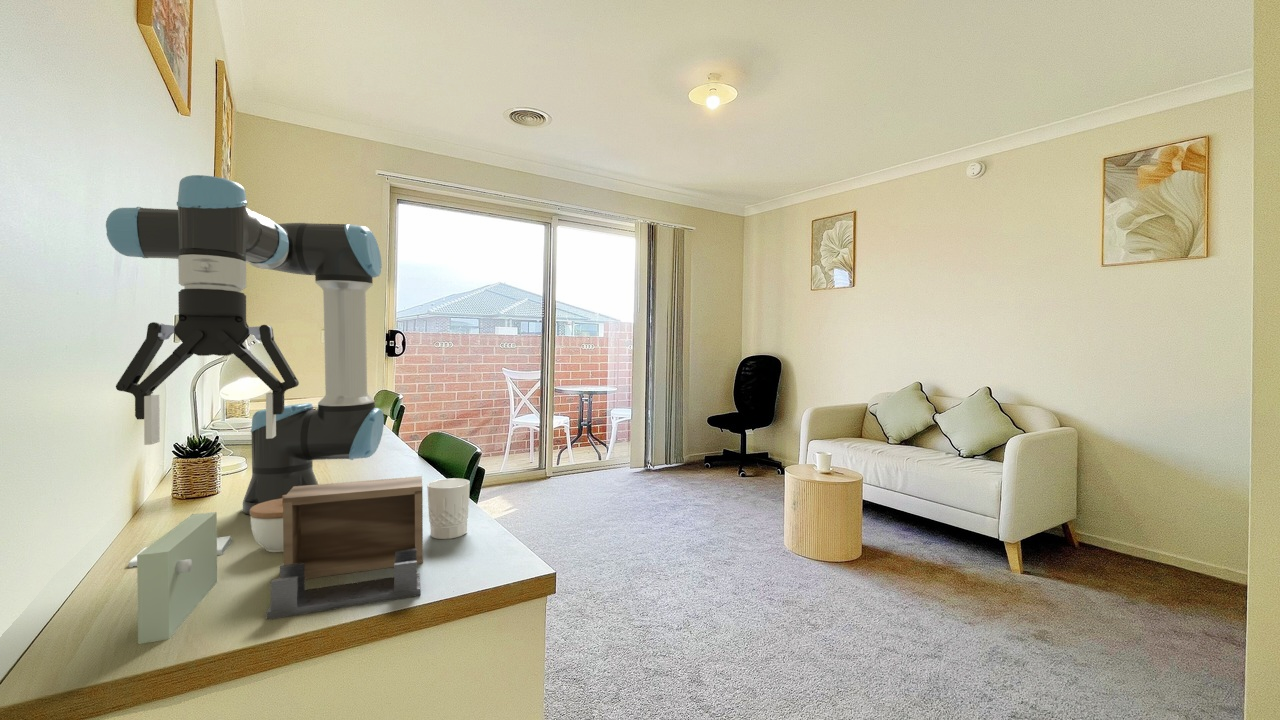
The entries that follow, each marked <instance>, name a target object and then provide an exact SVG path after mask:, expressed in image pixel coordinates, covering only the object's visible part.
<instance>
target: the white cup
mask: <svg viewBox="0 0 1280 720" xmlns="http://www.w3.org/2000/svg"><path fill="white" fill-rule="evenodd" d="M470 484H471V481H470V480H469V479H465V478H459V477H458V478H456V477H453V478H442V479H436V480H433V481H430V482H428V483H427V484H426V487H427V505H428V506H427V507H428V521H429V525H430V527H429V528H430V537H431V538H433V539H439V540H450V539H454V538H459V537H461V536H464V535H465V534H466V533H467V532H468V518H469V506H470V487H471V486H470Z"/></svg>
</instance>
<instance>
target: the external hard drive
mask: <svg viewBox="0 0 1280 720" xmlns="http://www.w3.org/2000/svg"><path fill="white" fill-rule="evenodd" d="M232 539H233V538H232V535H228V536H227V535H226V536H220V537H218V536H217V556H223V554H224V552H225V551H226V549H228V547H229V546H230V544H231V542H232ZM148 547H149V546H145V547H143V548H142V549H141V550H140V551H139V552H138V553H137V554H136V555H134V556H133V557H132V558H131V559H130V560H129V562H128V568H134V567H133V566H137V555H138V554H139V553H141V552H142V551H143V550H145V549H146V548H148Z"/></svg>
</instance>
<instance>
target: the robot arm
mask: <svg viewBox="0 0 1280 720" xmlns="http://www.w3.org/2000/svg"><path fill="white" fill-rule="evenodd" d="M178 184H179V185H178V194H177V201H176V206H177V209H174V208H172V209H171V208H152V207H150V208H148V207H141V206H136V207H119V208H116V209H114V210H111V212H110V213H109V214H108V216H107V218H106V222H105V229H106V237H107V241H108V242H109V244H110V245H111V247H112V248H113V249H114V250H115V251H116V252H117V253H119V254H121V255H122V256H124V257H125V256H126V257H133V258H142V259H172V260H173V259H174V260H175V259H176V260H177V261H178V263H177V264H178V266H177V267H178V284H179V285H180V286H182V287H183V289H182V288H181V289H180V291H178V320H177V323H176V325H170V324H164V323H161V322H155V321H153V322H150V323H148V324H147V328H146V330H147V331H146V337H145V340H143V343H142V344H141V345H140V347H139V349H138V350H137V352H136V353H135V355H134V356H133V358H132V360H131V361H130V362H129V365H127V367H126V369H125V371H124V373H122V375H121V376H120V378H119V380H118V381H117V383H116V384H115V389H116V390H117V391H119V392H123V393H124V392H125V393H129V394H132V395H133V396H134V416H135V418H136V420H144V422H143V426H144V428H143V430H144V431H143V432H144V434H143V435H144V437H143V438H144V441H143V442H144V444H143V445H144V446H150V445H154V444H157V443H159V442H160V439H161V438H160V436H161V435H160V394H153V393H154V391H155V390H156V389H157V388H158V387H160V385H161V384H163V382H164V381H166V379H168V378H169V377H170V375H172V374H173V373H174V372H175V371H176V370H177V369H178V368H179V367H181V365H183V364H184V363H185V362H186V361H187V360H188V359H189V358H191V357H192V356H193V355H196V356H198V357H200V356H203V357H207V356H214V355H215V356H221V357H225V356H227V357H229V356H231V355H234V356H235V357H236V358H238V359H239V360H240V361H241V362H242V363H243V364H245V366H246V367H247V368H249V369H250V371H252V373H254V374H255V375H256V377H258V378H259V380H261V382H263V383H264V384H265V385H266V386H267V387H268V388H269V389H270V390H271V391H272V392H267V393H265V409H260V410H258V411H257V410H256V412H255V413H253V415H252V420H251V429H250V433H251V434H250V435H251V470H252V471H251V479H250V481H249V484H248V487H247V489H246V492H245V495H244V496H243V501H242V512H243V514H246V515H249V516H250V509H251V507H253V506H255V505H257V504H259V503H262V502H266V501H270V500H275V499H281V498H282V496H283V495H286V494H287V493H288V492H289V491H290V490H291V489H292V488H293V487H294V486H306V485H319V483H318V480H317V478H316V476H315V472H314V469H313V466H314V465H313V464H314V463H313V461H319V460H321V461H322V460H351V461H353V460H356V459H367V458H370V457H372V456H373V455H374V454H376V452H377V450H378V449H379V445H380V443H381V442H382V441H381V440H382V436H383V432H384V426H385V425H384V424H385V416H384V412H383V410H382V409H381V408H379V407H376V405H375V404H376V403H375V399H374V398H373V397H372V396H370V394H368V371H367V370H368V366H367V365H368V363H367V362H368V361H367V360H368V357H367V355H368V354H367V310H366V309H367V305H366V304H367V303H366V300H367V299H366V297H367V295H366V293H367V291H368V290H369V289H370V288H372V286H373V282H374V281H373V280H374V279H373V278H378V277H379V276H380V275H381V273H382V256H381V255H382V254H381V251H380V247H379V244H378V240H377V238H376V237H375V235H374V233H373V232H372V230H370V229H369V228H368V227H367V226H365V225H364V226H363V225H356V224H349V223H313V222H311V223H308V222H288V223H277V222H275V221H274V220H272V219H270V218H269V217H266V216H264V215H262V214H259V213H257V212H256V211H252V210H251V209H249V208H248V207H247V206H248V201H247V196H246V190H245V188H244V186H242V185H241V184H240V183H239V182H236V181H233V180H230V179H227V178H222V177H219V176H213V175H212V176H211V175H202V174H201V175H200V174H197V175H196V174H194V175H186V176H184V177H183V178H182V179H180V180H179V183H178ZM247 264H249V265H250V266H252V267H255V268H257V269H261V270H271V271H276V272H283V273H287V274H293V275H294V274H295V275H301V276H302V275H303V276H314V278H315V281H314V282H315V284H316V285H317V286H319V288H321V290H322V291H323V292H322V293H323V295H322V296H323V329H324V330H323V335H324V338H323V339H324V343H323V344H324V380H325V381H324V385H325V387H324V388H325V391H324V392H325V394H324V397H323V398H321V399H320V400H319V401H318V403H317V409H314V406H313V404H312V403H310V402H307V403H297V404H290V405H285V394H286V392H287V391H288V390H291V389H293V388H296V387H298V386H299V385H300V382H299V380H298V378H297V377H296V374H295V373H294V371H293V369H292V368H291V367H290V364H289V363H288V362H287V360H286V358H285V356H284V355H283V353H282V352H281V351H282V350H280V348H279V346H278V344H277V343H276V341H275V337H274V329H273V327H272V326H271V325H267V324H261V325H260V326H259V325H258V326H249V325H248V322H247V295H246V294H245V293H244V292H242V290H243V291H244V290H245V289H246V288H247ZM173 334H175V336H176V337H177V338H178V339H179V340H180V341H181V342H182V343H180V344H179V346H177V347H176V348H175V349H174V350H173V351H172V353H171V354H170V355H169V356H168V357H167V358H166V359H165V360H163V362H161V363H160V364H159V365H158V366H157V367H156V368H155V369H154V370H153V371H152V372H151V373H149V374H148V376H146V378H144V379H143V380H142V381H141V382H140V380H141V379H142V377H143V376H144V374H145V372H146V371H147V369H148V368H149V366H150V365H151V363H152V361H153V360H154V358H155V357H156V355H157V354H158V352H159V351H160V349H161V348H162V346H163V343H164V341H165V340H169V339H170V337H171V336H172V335H173ZM251 335H253V336H254V338H255V340H257V341H261V344H262V346H263V347H264V349H265V351H266V353H267V355H268V356H269V358H270V360H271V361H272V363H273V364H274V366H275V367H276V370H277V372H278V374H280V376H281V378H282V379H283V382H281V381H280V380H279V378H277V377H276V376H275V375H274V374H273V373H272V372H271V371H270V370H269V369H268V368H267V367H266V366H265V365H264V364H263V363H262V362H261V361H260V360H259V359H258V358H257V357H256V356H255V355H254V354H253V353H252V351H250V349H249V348H247V346H245V345H244V342H245V341H246V340H247V339H248V338H249V337H250V336H251ZM139 382H140V383H139Z"/></svg>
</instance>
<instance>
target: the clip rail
mask: <svg viewBox="0 0 1280 720" xmlns="http://www.w3.org/2000/svg"><path fill="white" fill-rule="evenodd" d="M393 569H394V570H393V573H394V574H393V575H394V576H392V577H391V576H390V577H385V578H378V579H370V580H369V579H368V580H363V581H356V582H351V583H350V582H347V583H342V584H336V585H328V586H322V587H315V588H307V589H306V579H305V562H303V563H295V564H288V565H284V564H280V566H279V578H274V579H272V580H271V581H270V606H269V607H268V609H267V610H266V620H267V621H268V620H274V619H280V618H286V617H293V616H299V615H305V614H311V613H312V614H313V613H317V612H318V613H319V612H324V611H330V610H336V609H337V610H338V609H345V608H349V607H351V608H352V607H356V606H362V605H369V604H374V603H381V602H388V601H395V600H400V599H406V598H413V597H419V596H421V595H422V594H421V591H422V590H421V573H420V572H419V573H418V572H417V571H418V564H417V549H416V548H414V549H406V550H398V551H395V563H394V567H393Z"/></svg>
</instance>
